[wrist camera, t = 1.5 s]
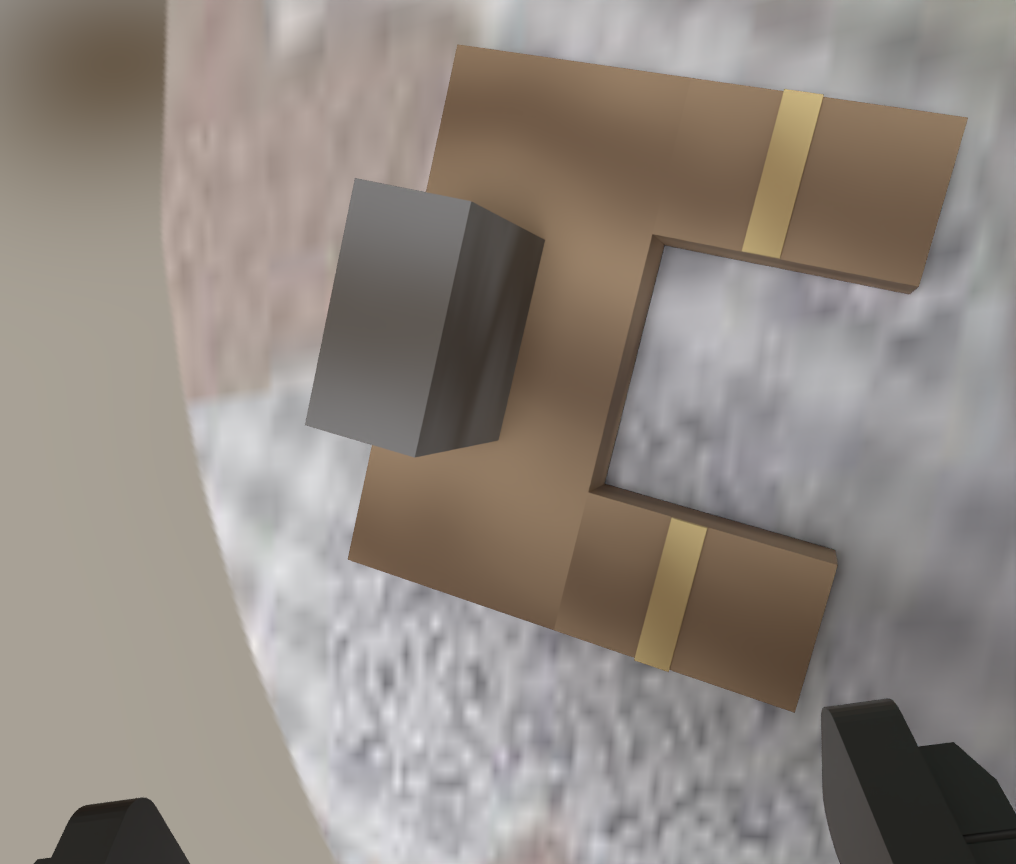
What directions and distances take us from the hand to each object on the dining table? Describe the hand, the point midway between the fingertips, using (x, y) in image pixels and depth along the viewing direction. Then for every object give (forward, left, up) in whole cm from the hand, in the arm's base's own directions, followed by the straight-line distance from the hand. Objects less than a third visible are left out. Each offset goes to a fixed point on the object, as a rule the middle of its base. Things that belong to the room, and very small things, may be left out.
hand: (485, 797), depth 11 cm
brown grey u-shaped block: (-5, -3, -18) cm, 18 cm away
